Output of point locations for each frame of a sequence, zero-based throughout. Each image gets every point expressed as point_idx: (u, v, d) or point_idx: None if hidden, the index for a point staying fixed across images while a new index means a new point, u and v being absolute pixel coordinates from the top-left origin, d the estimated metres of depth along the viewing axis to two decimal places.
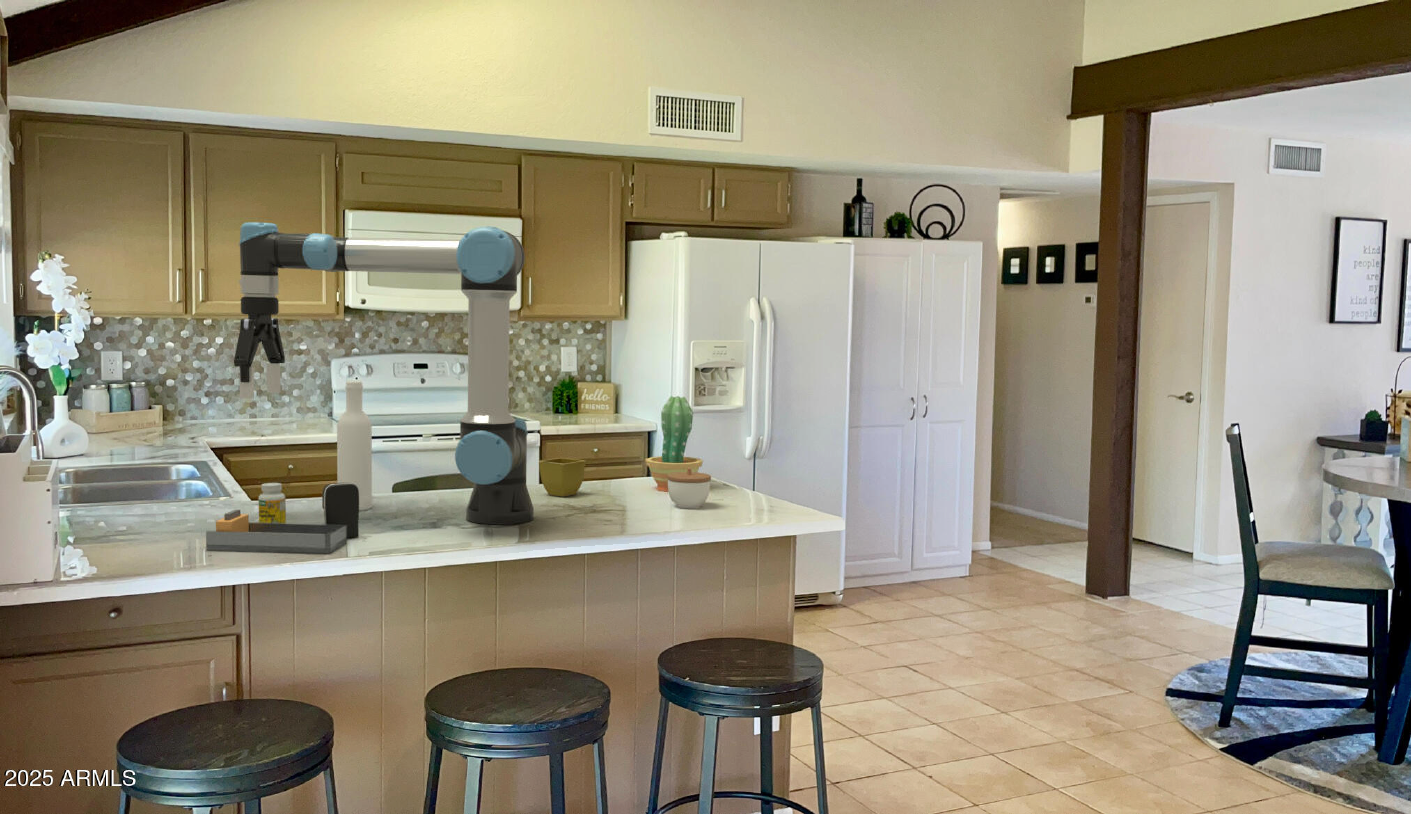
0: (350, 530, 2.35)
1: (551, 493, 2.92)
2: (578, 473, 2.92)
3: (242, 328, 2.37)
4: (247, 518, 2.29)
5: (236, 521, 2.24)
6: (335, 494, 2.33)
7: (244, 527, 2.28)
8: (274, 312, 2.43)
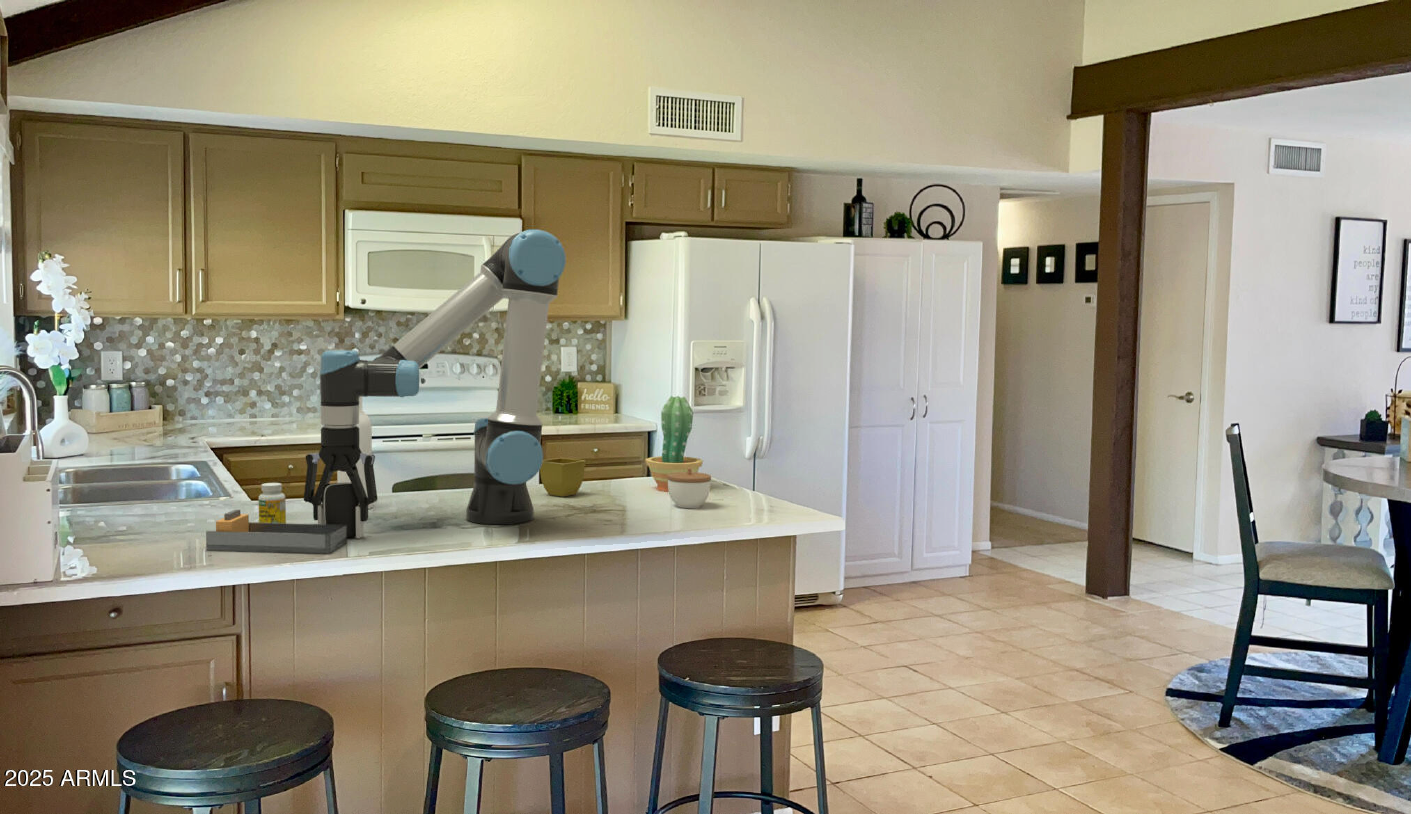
0: (350, 530, 2.35)
1: (551, 493, 2.92)
2: (578, 473, 2.92)
3: None
4: (247, 518, 2.29)
5: (236, 521, 2.24)
6: (335, 494, 2.33)
7: (244, 527, 2.28)
8: (329, 444, 2.31)
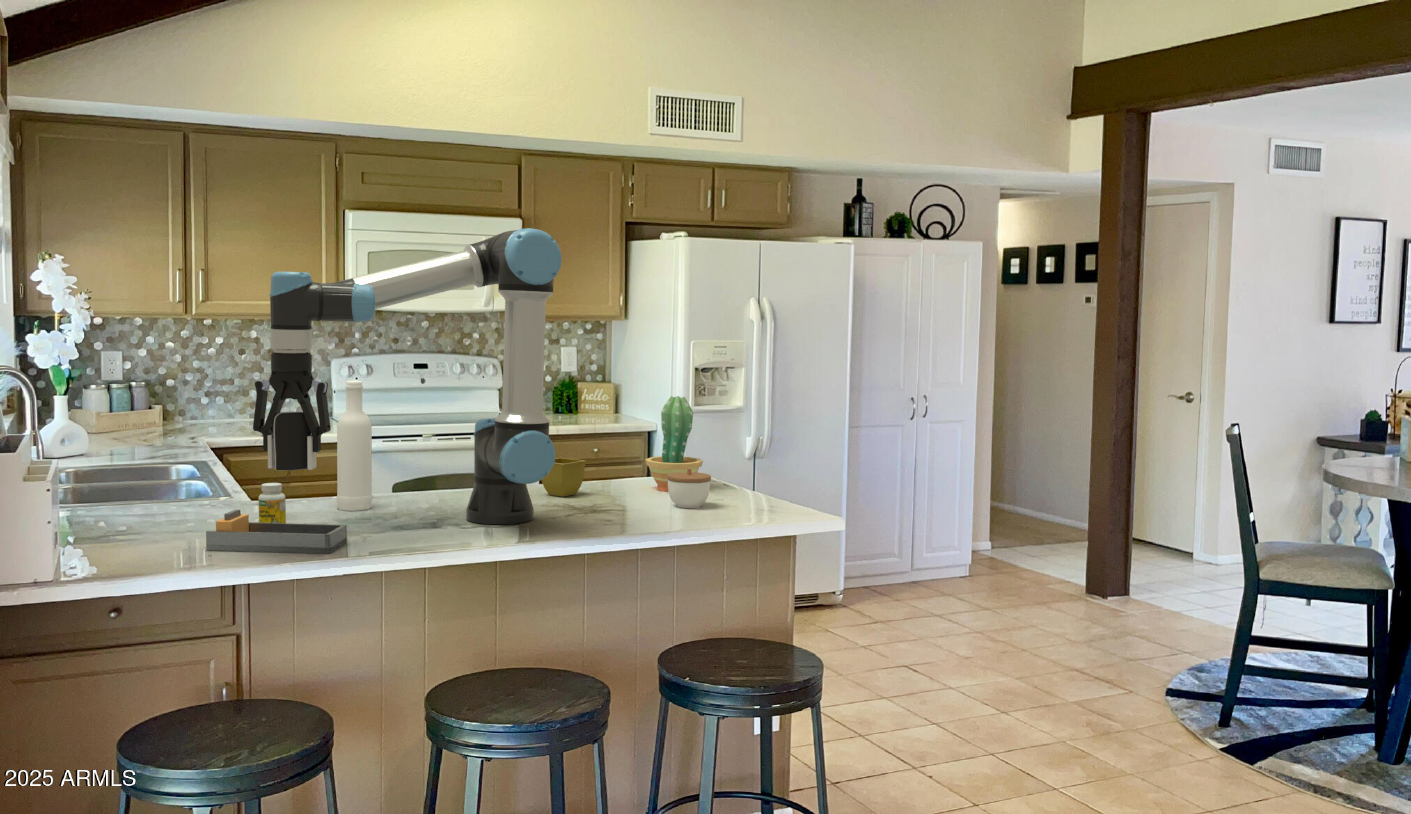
0: (301, 461, 2.24)
1: (551, 493, 2.92)
2: (578, 473, 2.92)
3: None
4: (247, 518, 2.29)
5: (236, 521, 2.24)
6: (285, 423, 2.21)
7: (244, 527, 2.28)
8: (279, 369, 2.19)
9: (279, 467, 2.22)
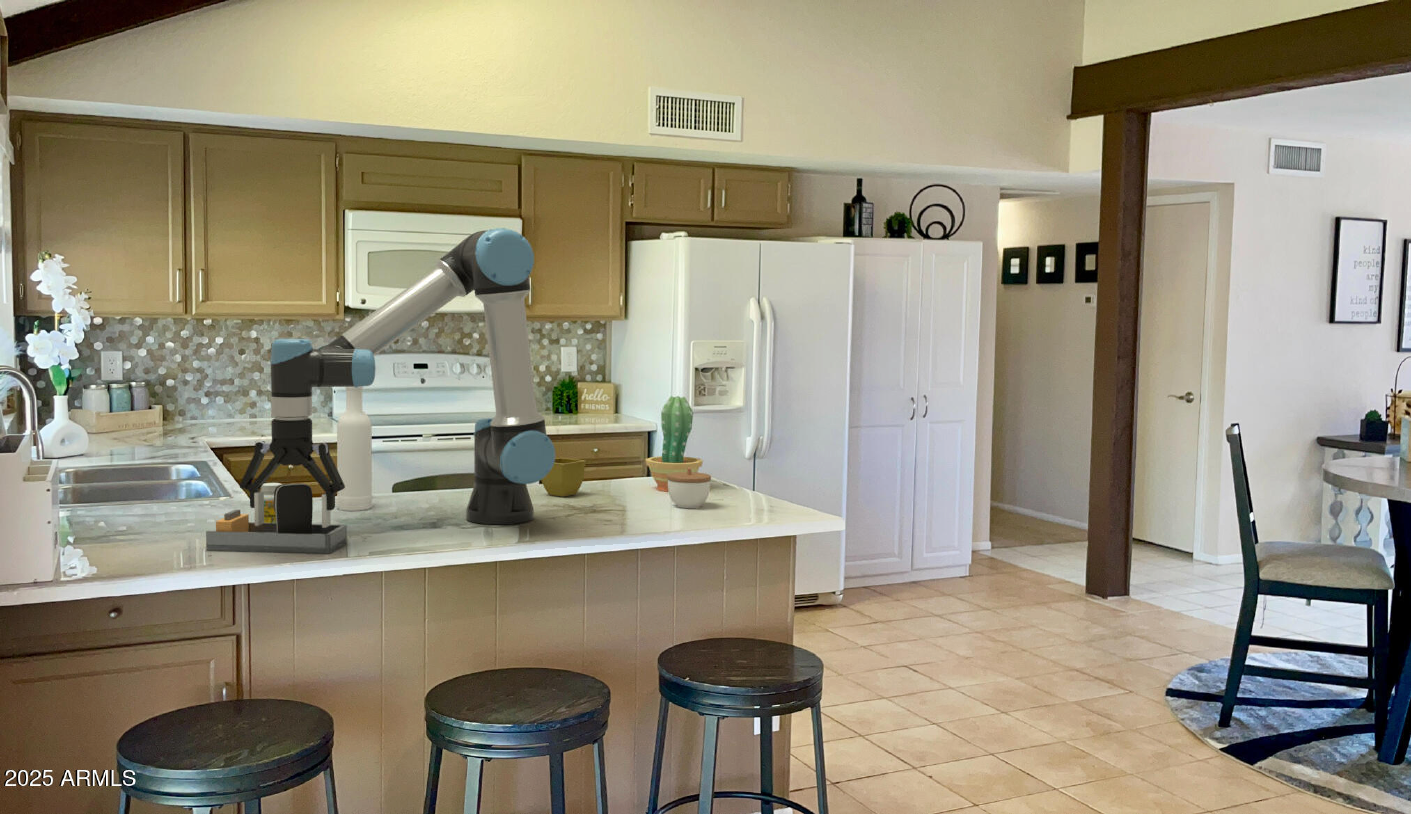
0: None
1: (551, 493, 2.92)
2: (578, 473, 2.92)
3: None
4: (247, 518, 2.29)
5: (236, 521, 2.24)
6: (287, 496, 2.23)
7: (244, 527, 2.28)
8: (279, 436, 2.21)
9: None
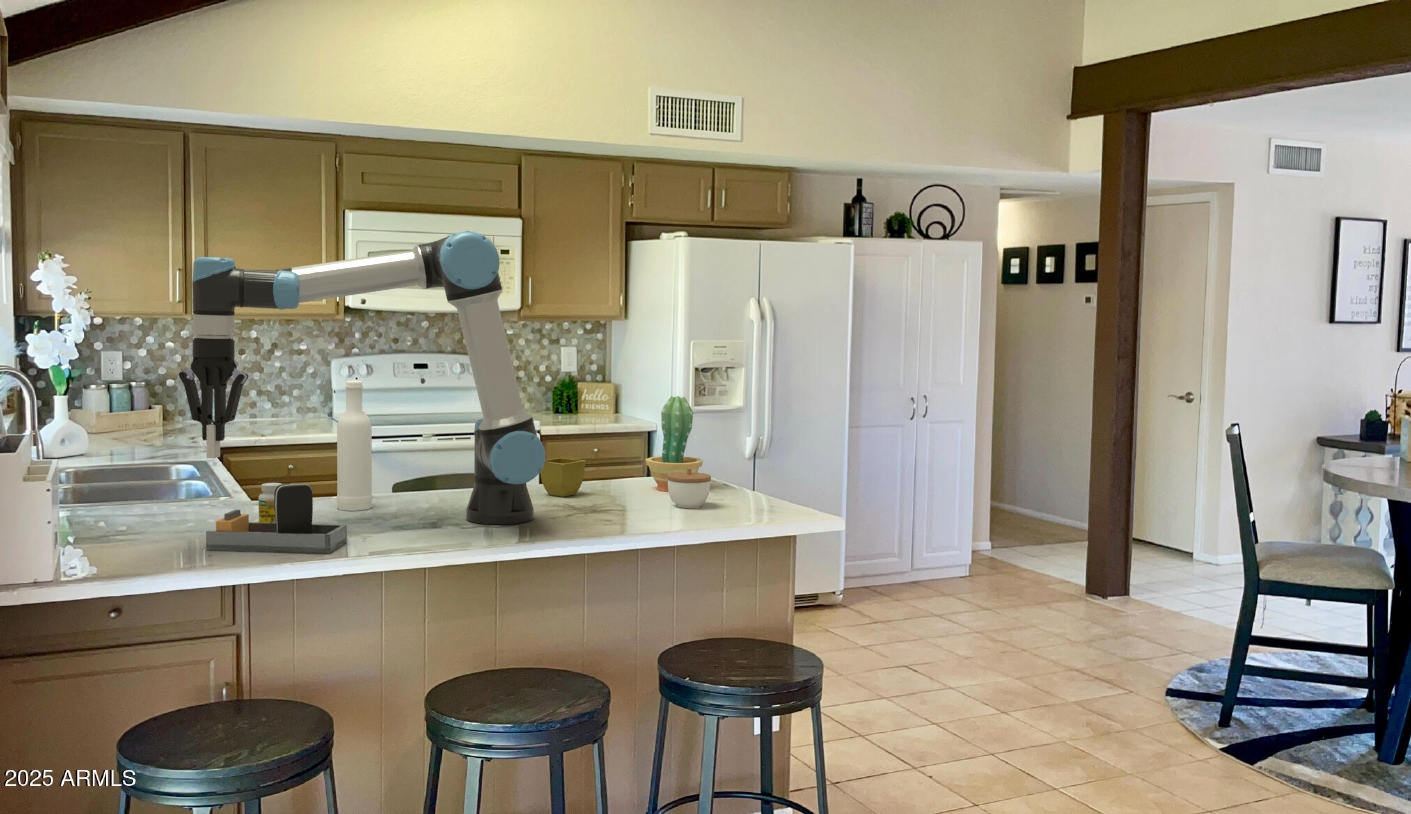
0: None
1: (551, 493, 2.92)
2: (578, 473, 2.92)
3: None
4: (247, 518, 2.29)
5: (236, 521, 2.24)
6: (287, 496, 2.23)
7: (244, 527, 2.28)
8: (200, 355, 2.19)
9: None
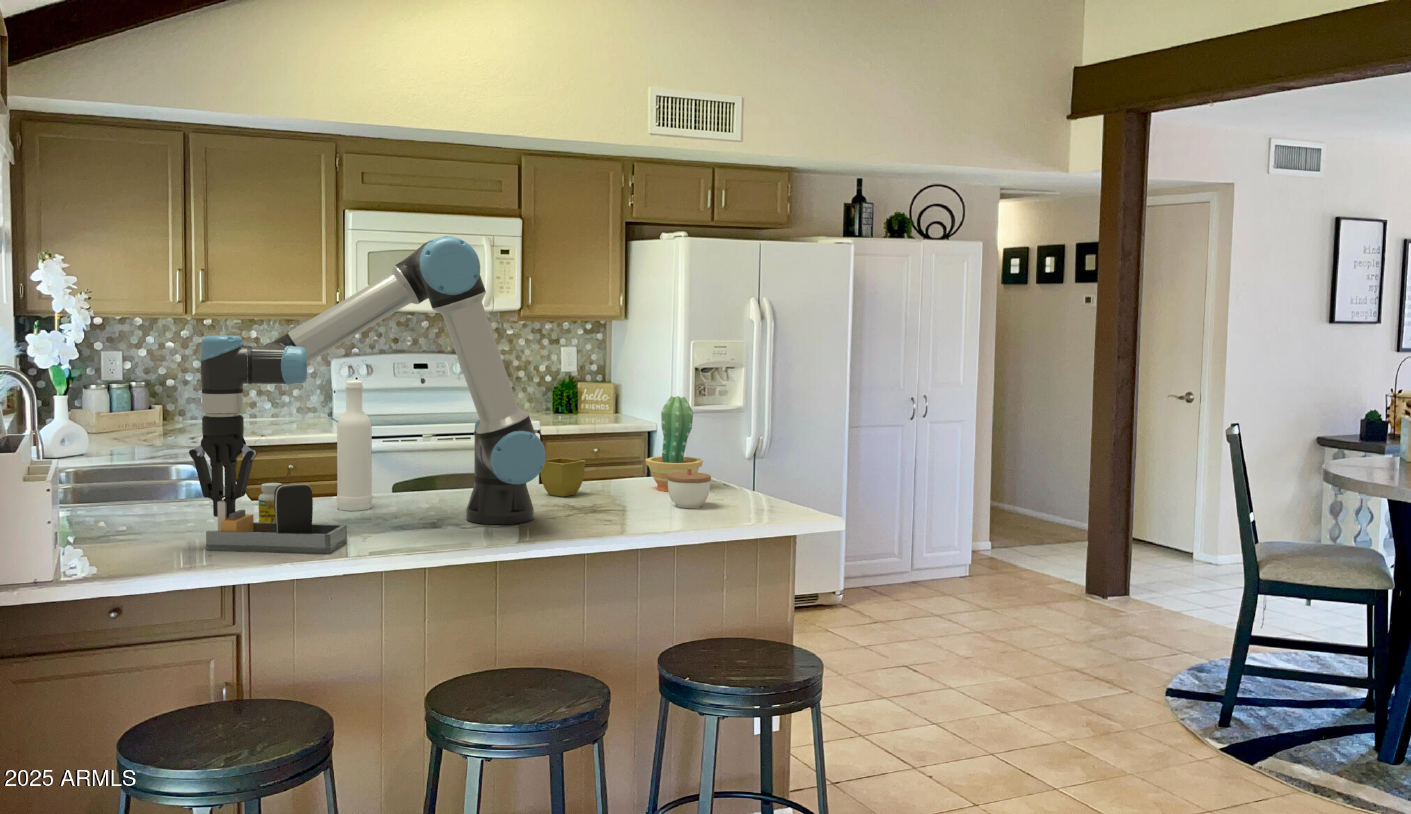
0: None
1: (551, 493, 2.92)
2: (578, 473, 2.92)
3: None
4: (252, 518, 2.29)
5: (240, 521, 2.24)
6: (287, 496, 2.23)
7: (249, 527, 2.28)
8: (209, 433, 2.21)
9: None
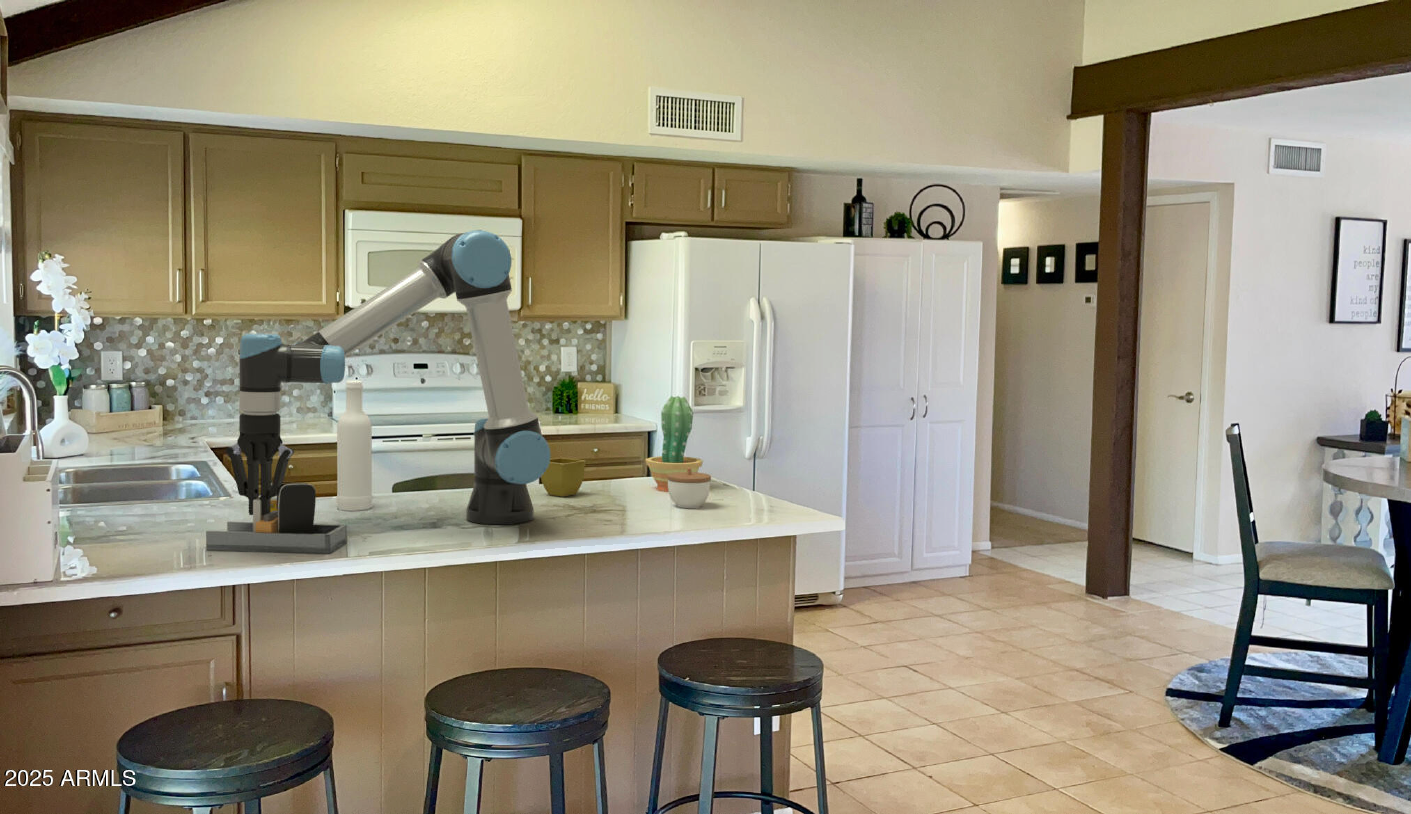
0: (304, 533, 2.25)
1: (551, 493, 2.92)
2: (578, 473, 2.92)
3: None
4: None
5: (275, 522, 2.24)
6: (290, 495, 2.23)
7: None
8: (247, 431, 2.21)
9: None
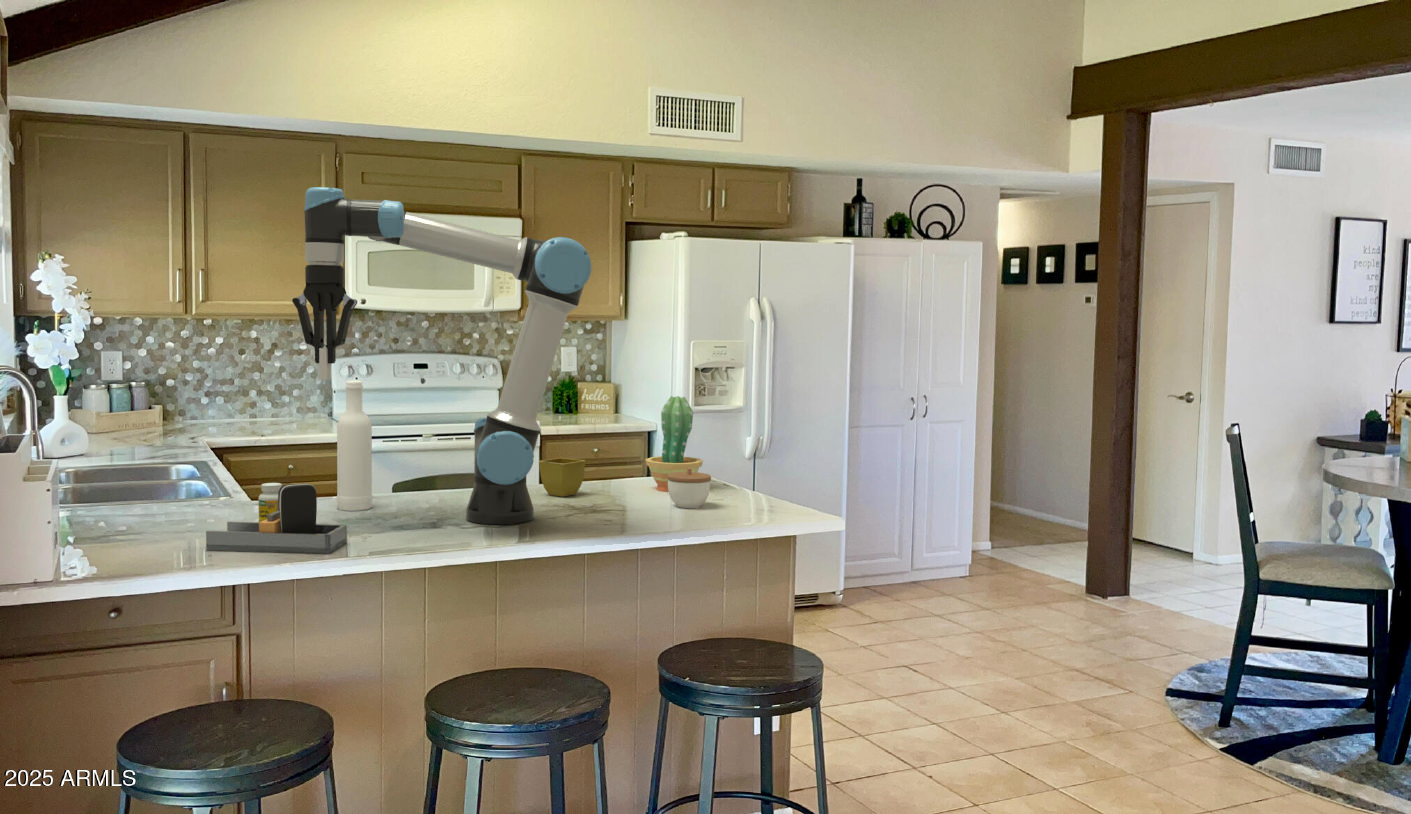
0: (307, 533, 2.25)
1: (551, 493, 2.92)
2: (578, 473, 2.92)
3: None
4: None
5: (278, 522, 2.24)
6: (291, 496, 2.23)
7: None
8: (313, 280, 2.31)
9: None
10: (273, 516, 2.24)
